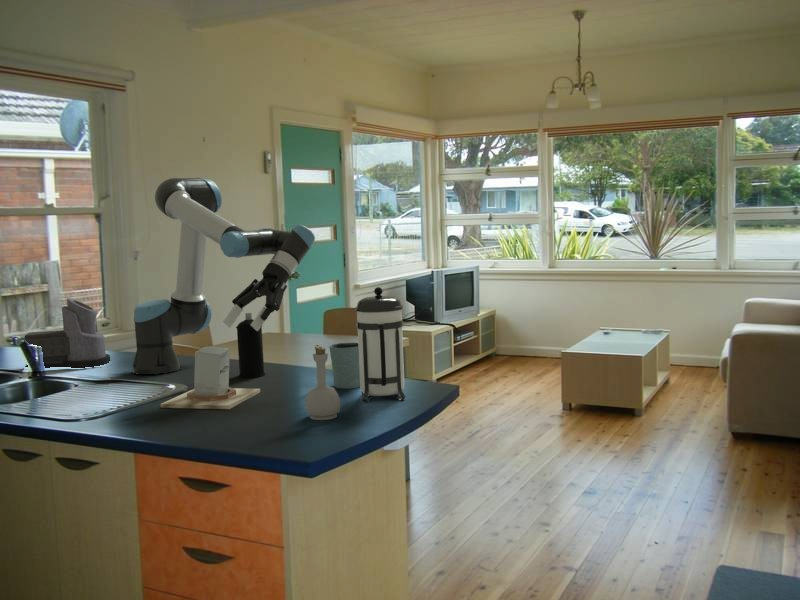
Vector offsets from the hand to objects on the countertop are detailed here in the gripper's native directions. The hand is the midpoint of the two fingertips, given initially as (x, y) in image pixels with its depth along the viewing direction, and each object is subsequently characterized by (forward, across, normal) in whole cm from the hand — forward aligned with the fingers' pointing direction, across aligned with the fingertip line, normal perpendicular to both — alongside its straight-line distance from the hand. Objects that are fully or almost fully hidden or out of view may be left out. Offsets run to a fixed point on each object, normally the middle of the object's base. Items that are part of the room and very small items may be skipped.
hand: (240, 326), depth 228 cm
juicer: (+22, +89, -6) cm, 92 cm away
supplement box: (+20, 0, -5) cm, 21 cm away
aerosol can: (+2, +19, -25) cm, 32 cm away
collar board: (+21, 0, -6) cm, 22 cm away
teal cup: (-3, -18, -31) cm, 36 cm away
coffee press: (0, -39, -27) cm, 47 cm away
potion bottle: (+17, -40, -10) cm, 45 cm away
